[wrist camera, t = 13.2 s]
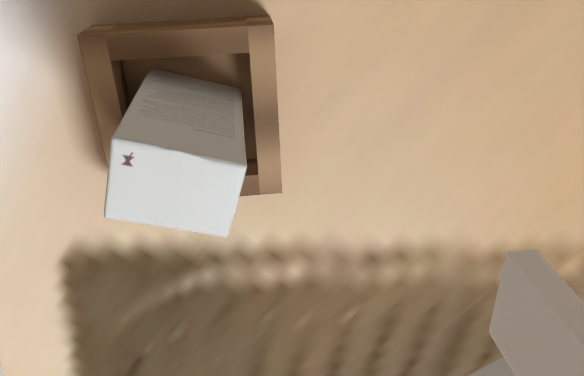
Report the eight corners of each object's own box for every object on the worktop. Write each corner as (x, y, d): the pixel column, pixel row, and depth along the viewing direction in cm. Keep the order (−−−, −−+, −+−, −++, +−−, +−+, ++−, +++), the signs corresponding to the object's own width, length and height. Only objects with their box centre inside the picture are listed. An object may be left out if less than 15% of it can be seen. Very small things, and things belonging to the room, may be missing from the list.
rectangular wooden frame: (92, 25, 30) (77, 35, 27) (269, 15, 31) (273, 24, 28) (126, 183, 35) (116, 206, 33) (278, 171, 36) (282, 192, 33)
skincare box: (141, 127, 33) (98, 219, 22) (150, 65, 31) (107, 134, 21) (230, 145, 34) (228, 241, 24) (244, 87, 33) (248, 163, 22)
